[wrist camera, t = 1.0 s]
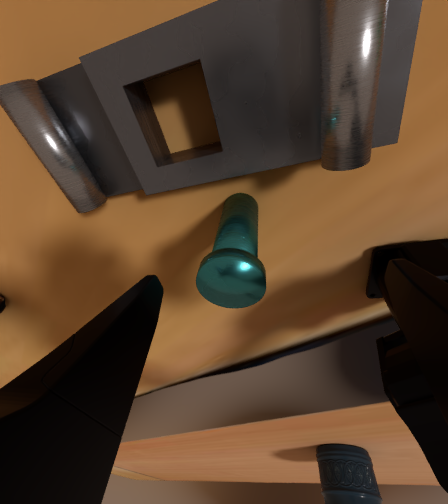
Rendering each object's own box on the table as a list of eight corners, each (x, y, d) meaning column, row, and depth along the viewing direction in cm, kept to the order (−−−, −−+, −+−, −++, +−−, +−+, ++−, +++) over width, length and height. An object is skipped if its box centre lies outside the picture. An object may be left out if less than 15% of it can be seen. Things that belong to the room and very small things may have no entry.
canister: (305, 444, 62) (318, 552, 48) (356, 441, 55) (387, 565, 42) (329, 457, 67) (346, 558, 53) (377, 456, 61) (411, 570, 47)
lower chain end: (255, 157, 17) (254, 177, 14) (81, 196, 21) (52, 218, 18) (230, 9, 13) (221, -7, 10) (13, 94, 17) (-41, 102, 14)
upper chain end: (376, 130, 15) (419, 156, 11) (159, 179, 19) (132, 211, 15) (400, -58, 11) (488, -133, 7) (107, 57, 15) (46, 57, 11)
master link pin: (267, 225, 21) (270, 306, 14) (224, 231, 22) (207, 310, 15) (260, 182, 19) (259, 255, 12) (212, 192, 20) (186, 264, 13)
